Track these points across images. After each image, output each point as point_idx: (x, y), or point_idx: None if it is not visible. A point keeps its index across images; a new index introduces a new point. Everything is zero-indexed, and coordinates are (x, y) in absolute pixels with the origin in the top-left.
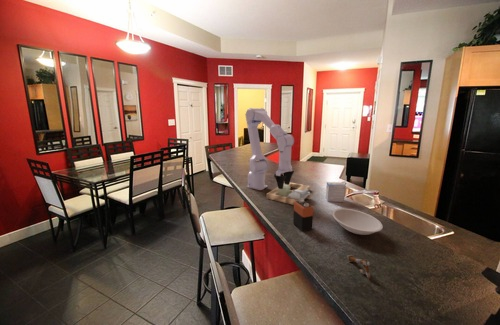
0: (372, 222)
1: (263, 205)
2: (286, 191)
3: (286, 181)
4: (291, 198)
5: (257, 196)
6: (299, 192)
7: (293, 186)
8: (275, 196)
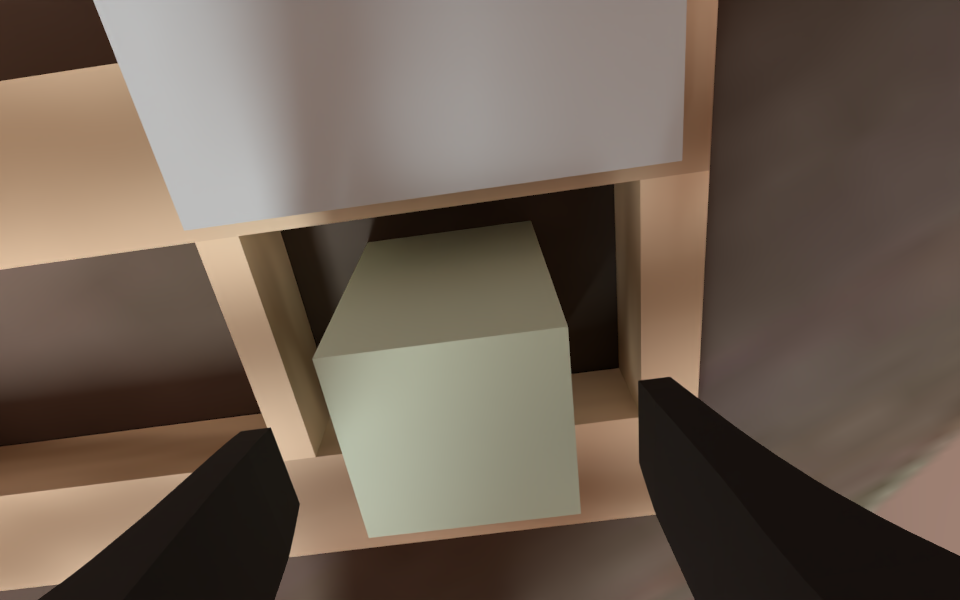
0: None
1: (935, 345)
2: (542, 286)
3: (259, 540)
4: None
5: (671, 554)
6: (290, 30)
7: None
8: (695, 364)
